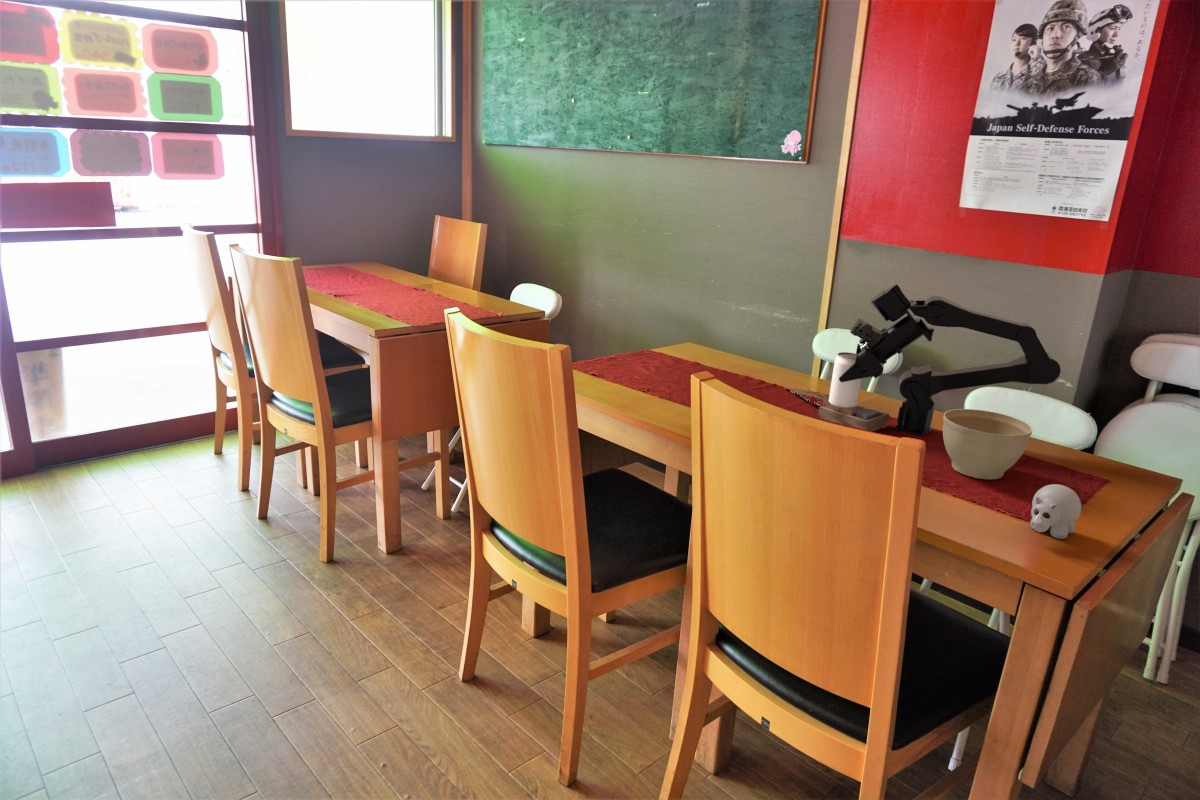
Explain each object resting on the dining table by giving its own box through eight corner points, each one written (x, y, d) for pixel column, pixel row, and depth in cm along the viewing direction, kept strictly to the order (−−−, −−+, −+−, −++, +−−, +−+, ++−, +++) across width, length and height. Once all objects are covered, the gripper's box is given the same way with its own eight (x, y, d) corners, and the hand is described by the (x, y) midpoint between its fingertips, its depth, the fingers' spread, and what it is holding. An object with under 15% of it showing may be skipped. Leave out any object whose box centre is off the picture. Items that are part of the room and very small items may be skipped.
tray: (887, 426, 184) (889, 413, 183) (865, 434, 177) (867, 422, 176) (839, 411, 192) (841, 399, 191) (817, 418, 186) (819, 406, 185)
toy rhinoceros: (1006, 536, 133) (1018, 490, 130) (1036, 518, 140) (1048, 474, 137) (1051, 553, 127) (1064, 506, 125) (1080, 534, 135) (1092, 488, 132)
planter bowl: (1022, 468, 163) (1034, 419, 159) (1017, 495, 149) (1030, 441, 146) (940, 450, 170) (950, 402, 167) (928, 474, 157) (938, 422, 154)
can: (835, 398, 190) (842, 350, 186) (860, 404, 186) (869, 355, 183) (823, 403, 185) (831, 354, 182) (850, 410, 181) (858, 360, 178)
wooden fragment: (878, 416, 191) (879, 411, 191) (847, 422, 186) (848, 417, 185) (801, 386, 212) (802, 383, 212) (771, 391, 206) (772, 387, 206)
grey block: (879, 425, 183) (881, 411, 182) (864, 431, 179) (866, 416, 178) (865, 421, 186) (867, 407, 185) (850, 427, 181) (852, 412, 180)
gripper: (875, 302, 186) (821, 341, 192) (875, 316, 169) (816, 359, 175) (905, 338, 186) (849, 376, 193) (908, 356, 169) (847, 398, 176)
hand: (840, 376), depth 184 cm, fingers closed on can, 6 cm apart
